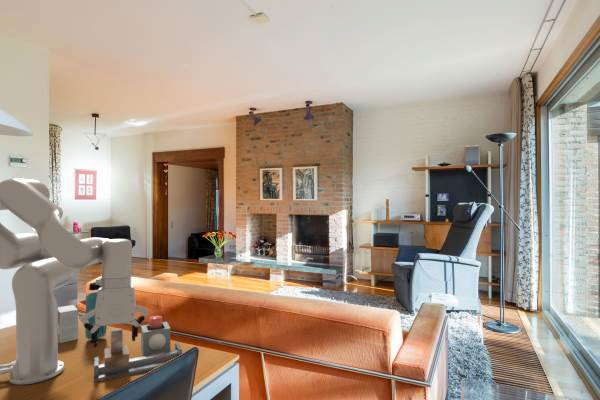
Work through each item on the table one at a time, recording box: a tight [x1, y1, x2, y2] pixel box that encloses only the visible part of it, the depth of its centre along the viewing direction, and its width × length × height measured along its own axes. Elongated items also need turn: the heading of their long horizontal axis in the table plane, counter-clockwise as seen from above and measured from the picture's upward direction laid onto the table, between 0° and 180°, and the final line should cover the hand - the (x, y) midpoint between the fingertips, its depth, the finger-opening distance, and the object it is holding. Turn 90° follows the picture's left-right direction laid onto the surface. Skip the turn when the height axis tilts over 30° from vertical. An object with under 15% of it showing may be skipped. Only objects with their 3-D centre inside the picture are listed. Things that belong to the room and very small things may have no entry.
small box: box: [58, 304, 79, 344], centre depth 126 cm, size 8×6×10 cm
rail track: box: [93, 342, 183, 383], centre depth 105 cm, size 23×8×4 cm, turn 119°
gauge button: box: [148, 315, 163, 329], centre depth 115 cm, size 4×4×3 cm
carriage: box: [104, 327, 130, 369], centre depth 102 cm, size 6×7×9 cm
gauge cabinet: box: [140, 321, 171, 357], centre depth 115 cm, size 8×7×8 cm
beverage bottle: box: [84, 281, 108, 340], centre depth 125 cm, size 6×7×20 cm
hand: (114, 342), depth 102 cm, fingers open, 9 cm apart
